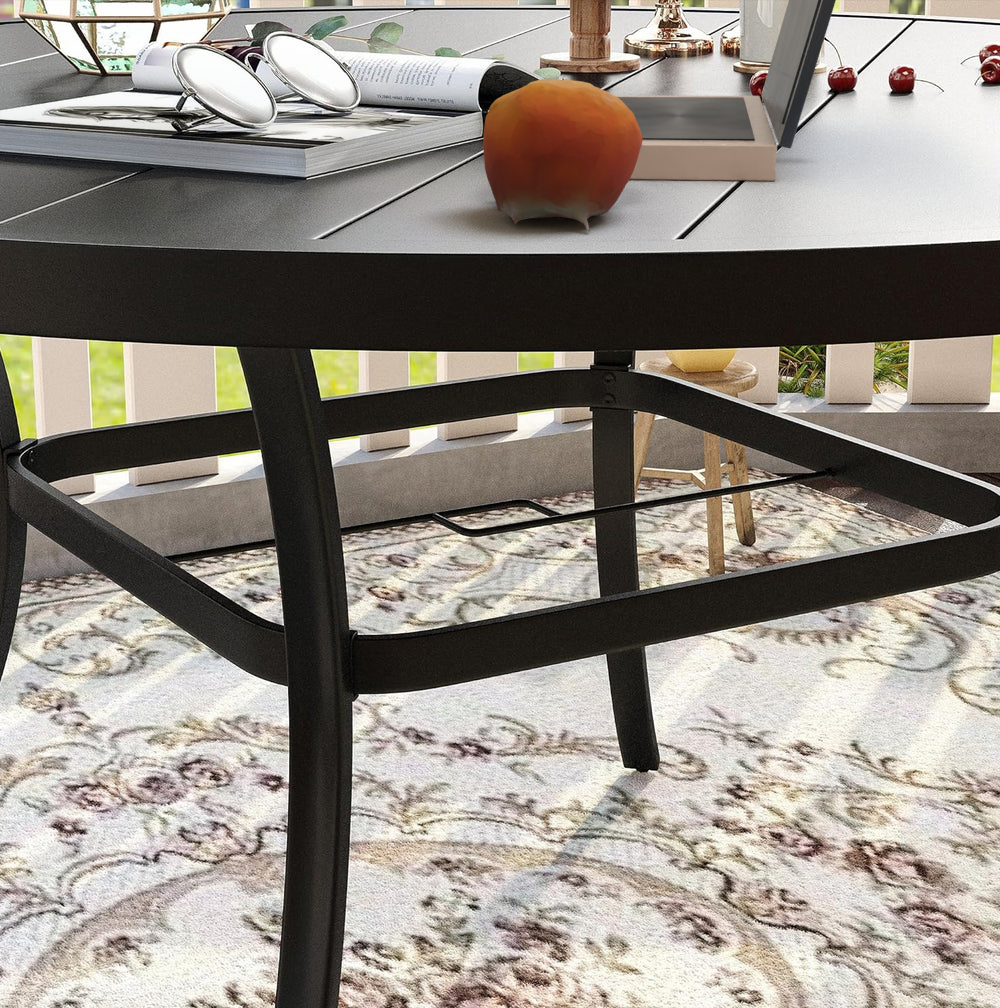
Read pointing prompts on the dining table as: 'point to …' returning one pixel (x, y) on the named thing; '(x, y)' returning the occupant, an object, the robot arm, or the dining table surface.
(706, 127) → the beige flat box
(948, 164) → the dining table surface
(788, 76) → the laptop screen
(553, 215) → the fruit
